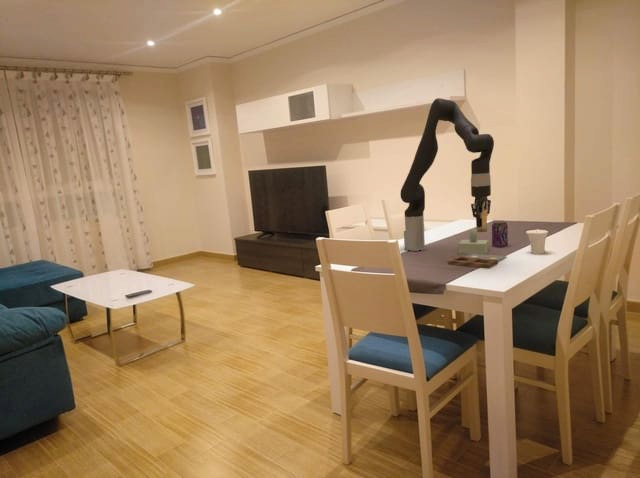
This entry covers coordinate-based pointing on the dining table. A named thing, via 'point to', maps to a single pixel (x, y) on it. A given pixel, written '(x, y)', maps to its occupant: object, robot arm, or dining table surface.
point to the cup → (537, 240)
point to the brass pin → (483, 222)
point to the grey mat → (487, 256)
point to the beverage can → (499, 234)
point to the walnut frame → (473, 262)
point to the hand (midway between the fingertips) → (481, 226)
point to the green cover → (473, 244)
